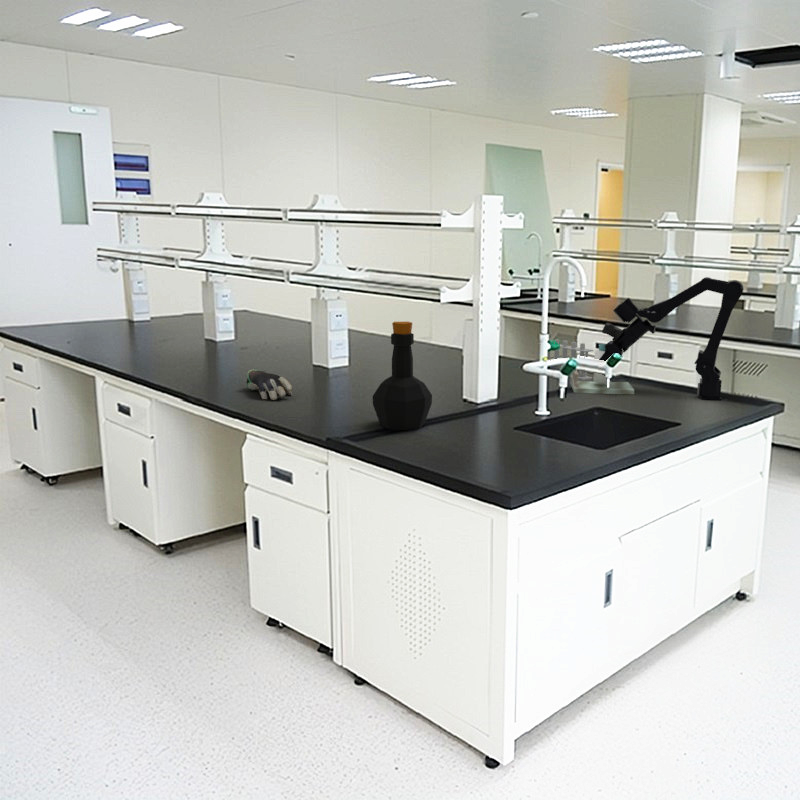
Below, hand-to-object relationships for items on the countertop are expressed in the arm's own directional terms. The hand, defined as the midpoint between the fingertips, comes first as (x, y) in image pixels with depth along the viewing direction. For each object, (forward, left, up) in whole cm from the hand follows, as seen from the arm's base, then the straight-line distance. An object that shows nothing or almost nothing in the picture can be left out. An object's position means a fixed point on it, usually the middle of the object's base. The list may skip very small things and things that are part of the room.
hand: (599, 362), depth 285 cm
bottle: (+62, +60, -10) cm, 87 cm away
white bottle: (-1, 0, -7) cm, 7 cm away
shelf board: (-1, 0, -9) cm, 10 cm away
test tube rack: (+10, -28, -10) cm, 31 cm away
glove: (+112, +22, -10) cm, 115 cm away
